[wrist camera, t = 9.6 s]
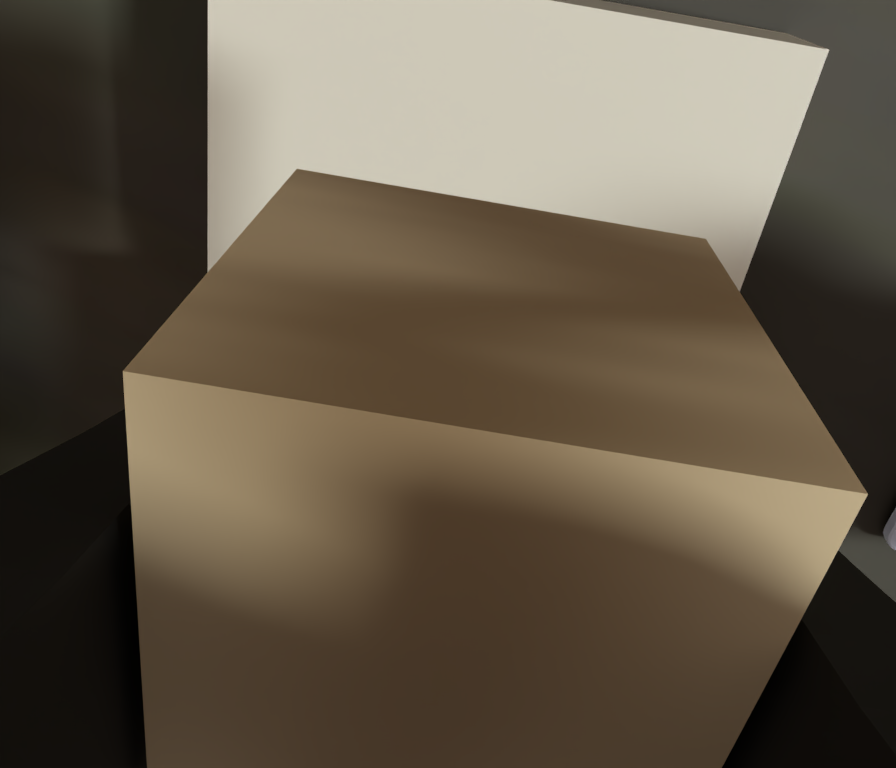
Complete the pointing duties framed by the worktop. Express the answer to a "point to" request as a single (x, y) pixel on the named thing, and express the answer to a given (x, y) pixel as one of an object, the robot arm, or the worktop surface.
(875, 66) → the worktop surface
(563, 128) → the white tray
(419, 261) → the block
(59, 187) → the worktop surface
